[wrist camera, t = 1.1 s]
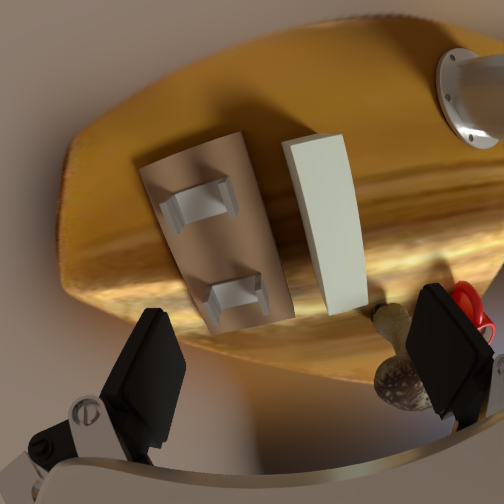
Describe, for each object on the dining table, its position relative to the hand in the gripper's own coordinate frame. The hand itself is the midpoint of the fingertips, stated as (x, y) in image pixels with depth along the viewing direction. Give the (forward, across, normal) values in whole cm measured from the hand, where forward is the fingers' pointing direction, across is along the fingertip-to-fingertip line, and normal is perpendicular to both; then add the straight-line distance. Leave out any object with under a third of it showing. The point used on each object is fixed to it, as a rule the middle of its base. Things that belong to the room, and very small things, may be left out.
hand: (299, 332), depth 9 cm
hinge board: (+18, +6, +4) cm, 20 cm away
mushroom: (+19, -13, +15) cm, 27 cm away
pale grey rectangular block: (+19, -4, +1) cm, 19 cm away
